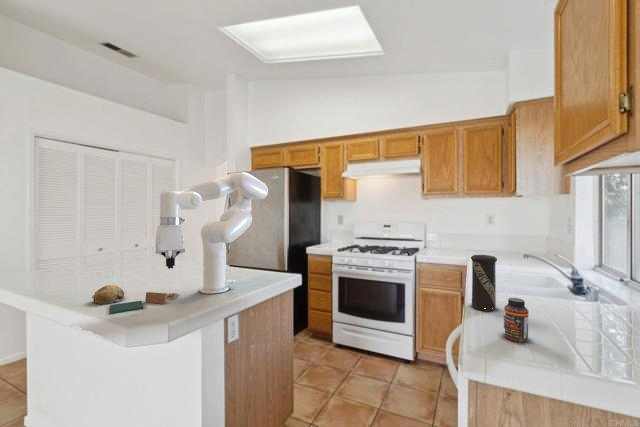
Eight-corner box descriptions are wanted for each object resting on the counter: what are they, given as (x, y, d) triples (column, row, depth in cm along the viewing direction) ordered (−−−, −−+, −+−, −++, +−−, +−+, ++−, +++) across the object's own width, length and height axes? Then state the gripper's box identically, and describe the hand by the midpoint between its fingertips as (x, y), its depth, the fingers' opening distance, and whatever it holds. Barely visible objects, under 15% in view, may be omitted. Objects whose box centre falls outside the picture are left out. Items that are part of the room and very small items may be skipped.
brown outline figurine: (164, 303, 119) (184, 299, 130) (165, 293, 119) (185, 289, 131) (145, 302, 121) (166, 297, 132) (146, 292, 121) (167, 288, 133)
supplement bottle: (500, 338, 87) (501, 299, 87) (506, 332, 92) (507, 295, 91) (525, 345, 83) (525, 303, 83) (530, 338, 87) (530, 299, 87)
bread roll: (107, 314, 117) (116, 295, 117) (83, 302, 117) (92, 283, 117) (124, 305, 127) (132, 288, 127) (102, 295, 127) (110, 278, 127)
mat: (141, 302, 121) (141, 300, 121) (143, 308, 113) (143, 307, 113) (110, 306, 115) (110, 304, 115) (110, 313, 107) (110, 312, 107)
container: (473, 310, 112) (473, 256, 112) (468, 303, 120) (469, 252, 120) (499, 312, 109) (500, 257, 109) (493, 305, 118) (493, 253, 118)
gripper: (188, 221, 128) (188, 264, 128) (148, 222, 120) (148, 268, 120) (192, 222, 122) (192, 267, 122) (150, 222, 114) (149, 271, 114)
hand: (170, 267), depth 121 cm, fingers closed
